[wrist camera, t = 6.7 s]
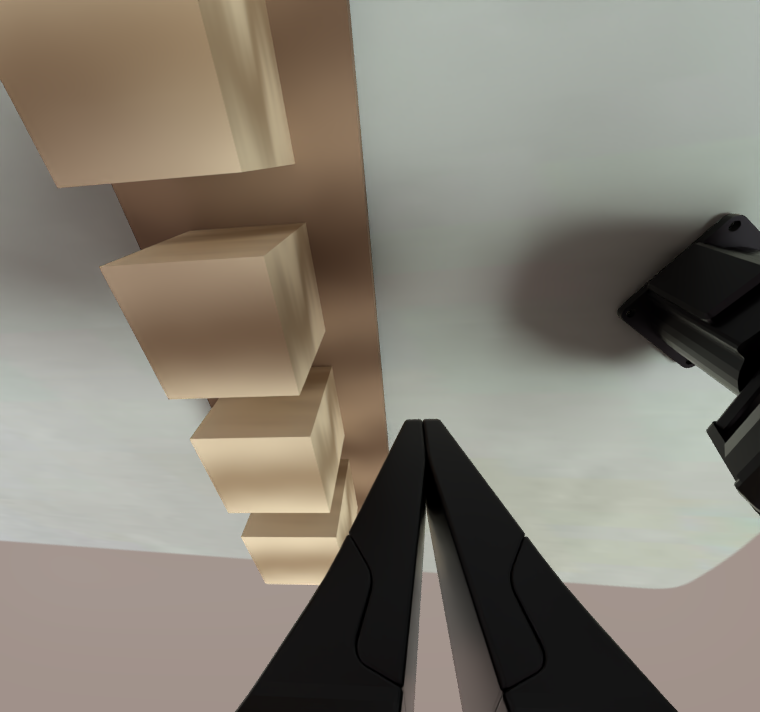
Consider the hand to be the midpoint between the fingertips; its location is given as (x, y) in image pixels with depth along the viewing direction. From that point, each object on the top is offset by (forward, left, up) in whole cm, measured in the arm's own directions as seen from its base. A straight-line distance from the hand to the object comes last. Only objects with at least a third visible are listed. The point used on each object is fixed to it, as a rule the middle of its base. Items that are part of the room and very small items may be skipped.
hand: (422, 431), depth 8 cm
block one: (+12, -2, -11) cm, 16 cm away
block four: (-4, +18, -11) cm, 22 cm away
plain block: (+1, +11, -11) cm, 16 cm away
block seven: (+7, +5, -11) cm, 14 cm away
